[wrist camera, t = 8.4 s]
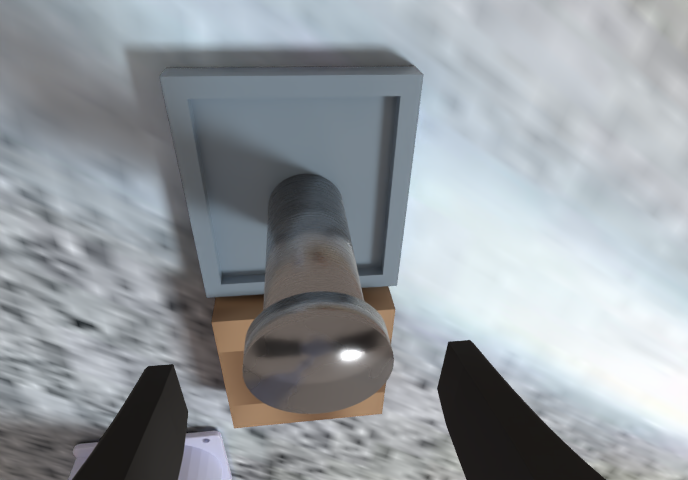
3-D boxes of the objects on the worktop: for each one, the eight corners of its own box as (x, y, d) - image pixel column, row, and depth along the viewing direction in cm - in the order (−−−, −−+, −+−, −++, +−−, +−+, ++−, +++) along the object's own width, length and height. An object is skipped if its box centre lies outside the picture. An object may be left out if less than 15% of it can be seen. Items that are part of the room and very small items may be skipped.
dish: (209, 281, 23) (206, 297, 22) (166, 67, 16) (159, 76, 15) (391, 270, 24) (396, 285, 23) (415, 66, 18) (423, 74, 17)
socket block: (237, 393, 28) (234, 428, 26) (217, 288, 23) (211, 322, 21) (374, 381, 29) (381, 413, 27) (385, 278, 24) (395, 309, 22)
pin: (260, 247, 21) (249, 419, 14) (253, 164, 18) (234, 322, 11) (351, 244, 22) (386, 408, 14) (356, 162, 19) (402, 312, 12)
